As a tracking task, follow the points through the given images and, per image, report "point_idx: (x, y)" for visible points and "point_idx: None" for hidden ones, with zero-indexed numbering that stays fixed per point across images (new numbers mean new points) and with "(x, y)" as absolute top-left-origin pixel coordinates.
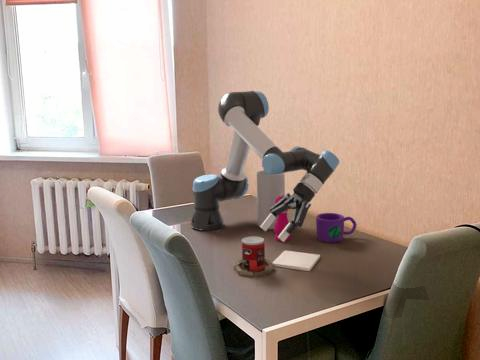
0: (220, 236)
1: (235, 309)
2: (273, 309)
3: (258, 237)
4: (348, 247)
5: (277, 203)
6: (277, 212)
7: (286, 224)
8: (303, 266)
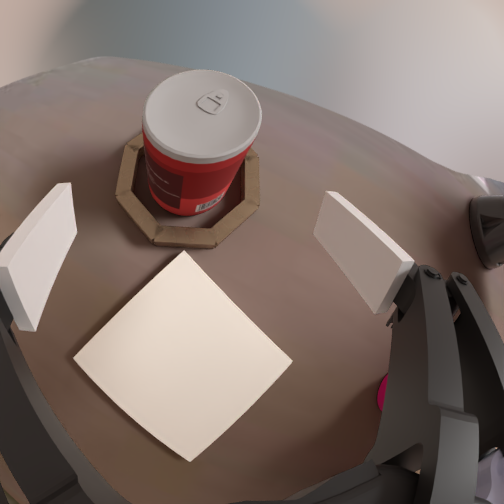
0: (447, 226)
1: (29, 76)
2: None
3: (228, 146)
4: None
5: (492, 340)
6: (405, 323)
7: None
8: (97, 349)
